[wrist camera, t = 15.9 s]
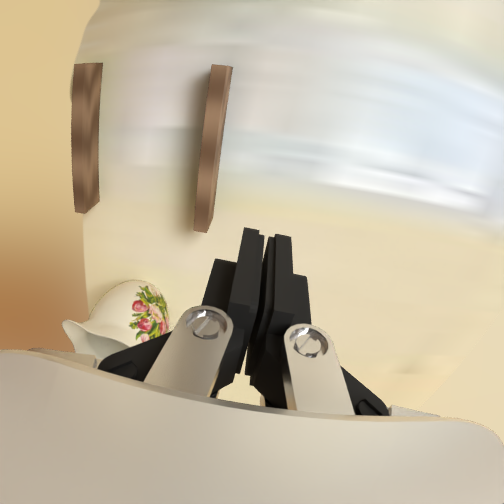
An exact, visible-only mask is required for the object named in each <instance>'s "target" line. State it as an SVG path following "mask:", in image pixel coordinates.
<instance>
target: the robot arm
mask: <svg viewBox="0 0 504 504" xmlns="http://www.w3.org/2000/svg"><path fill="white" fill-rule="evenodd" d="M263 248H264V235H260V234H259V230H255V229H250V228H245V227H244V231H243V236H242V241H241V246H240V251H239V256H238V261H237V263H236V262H231V261H226V260H221V259H215V261H214V264H213V268H212V271H211V274H210V277H209V281H208V284H207V287H206V291H205V294H204V298H203V301H202V304H201V306H196V307H192V308H190V309H188V310H187V311H185V312H184V314H183V315H182V316H181V318H180V319H179V321H178V323H177V325H176V326H175V328H174V330H173V331H171V332H168V333H166V334H163V335H161V336H158V337H155V338H153V339H150V340H148V341H145V342H143V343H140V344H137V345H135V346H132V347H130V348H127V349H124V350H122V351H119V352H116V353H114V354H111V355H109V356H107V357H106V358H104V359H96V356H95V355H89V354H80V353H71V352H64V351H56V350H50V349H42V348H32V349H29V350H8V349H6V350H0V504H504V445H503V443H502V441H501V440H500V438H499V436H498V435H497V434H496V433H495V432H494V431H492V430H491V429H489V428H487V427H485V426H484V425H481V424H478V423H476V422H473V421H469V420H463V419H459V418H448V417H440V416H438V415H433V414H429V413H424V412H419V411H415V410H411V409H407V408H402V407H398V406H394V405H391V406H390V408H388V407H386V405H385V404H384V403H383V402H382V400H381V399H379V398H378V397H377V396H376V395H375V394H373V393H372V392H371V391H370V390H369V389H367V388H366V387H365V386H364V385H363V384H362V383H360V382H359V381H358V380H357V379H356V378H354V377H353V376H352V375H351V374H350V373H348V372H347V371H346V370H345V369H344V368H343V367H341V366H340V363H339V360H338V357H337V354H336V351H335V348H334V344H333V342H332V340H331V338H330V336H329V335H328V334H327V333H326V332H325V331H323V330H322V329H320V328H319V327H316V326H313V325H311V314H310V303H309V293H308V283H307V277H306V276H302V275H297V274H293V261H292V243H291V237H289V236H285V235H280V234H275V237H270V236H269V238H268V242H267V246H266V250H265V254H264V258H263ZM262 259H263V262H262ZM247 347H248V348H247ZM246 350H247V357H246V366H245V375H249V376H250V385H251V386H254V387H255V388H256V389H257V390H258V391H259V392H260V393H261V396H260V406H257V405H250V404H244V403H238V402H232V401H226V400H221V399H217V398H218V395H219V391H220V389H221V388H223V387H225V386H227V385H229V384H230V383H232V382H233V379H234V376H235V373H237V374H240V371H241V368H242V364H243V361H244V357H245V354H246Z"/></svg>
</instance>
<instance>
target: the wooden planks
mask: <svg viewBox="0 0 504 504" xmlns="http://www.w3.org/2000/svg"><path fill="white" fill-rule="evenodd" d="M102 67H103V63H83V64H74V76H73V92H72V122H71V136H72V137H71V139H72V140H71V142H72V175H73V192H74V205H75V212H78V213H84V214H85V213H86V212H87V211H88V210H90V209H91V208H92V207H93V206H94V205H96V204H97V203H98V202H99V171H98V137H99V108H100V91H101V78H102ZM232 69H233V67H230V66H224V65H213V64H212V66H211V73H210V80H209V87H208V94H207V102H206V110H205V118H204V126H203V135H202V144H201V153H200V162H199V172H198V183H197V194H196V206H195V218H194V231H198V232H204V233H207V231H208V229H209V226H210V224H211V221H212V219H213V213H214V204H215V195H216V187H217V178H218V170H219V162H220V154H221V146H222V139H223V131H224V124H225V116H226V109H227V102H228V95H229V89H230V82H231V75H232Z"/></svg>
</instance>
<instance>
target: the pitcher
mask: <svg viewBox="0 0 504 504" xmlns="http://www.w3.org/2000/svg"><path fill="white" fill-rule="evenodd" d="M62 327H63V329H64V331H65V333H66V334H67V336H68V337H69V339H70V340H71V341H72V343H73V346H74V350H75V353H80V354H89V355H95V356H96V359H104V358H106V357H107V356H109V355H111V354H114V353H116V352H119V351H122V350H124V349H127V348H130V347H132V346H135V345H137V344H140V343H143V342H145V341H148V340H150V339H153V338H155V337H158V336H161V335H163V334H166V333H168V332H169V312H168V307H167V303H166V301H165V299H164V297H163V295H162V294H161V292H160V291H159V290H158V289H157V288H156V287H155V286H154V285H152V284H150V283H148V282H145V281H141V280H135V281H127V282H124V283H121V284H119V285H117V286H115V287H114V288H112V289H111V290H109V291H108V292H107V293H106V294H105V295H104V296H103V297H102V298H101V299H100V300H99V301H98V303H97V304H96V305H95V307H94V308H93V310H92V312H91V314H90V316H89V319H88V320H87V321H85V322H82V323H77V322H75V321H72V320H64V321H63V322H62Z"/></svg>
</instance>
